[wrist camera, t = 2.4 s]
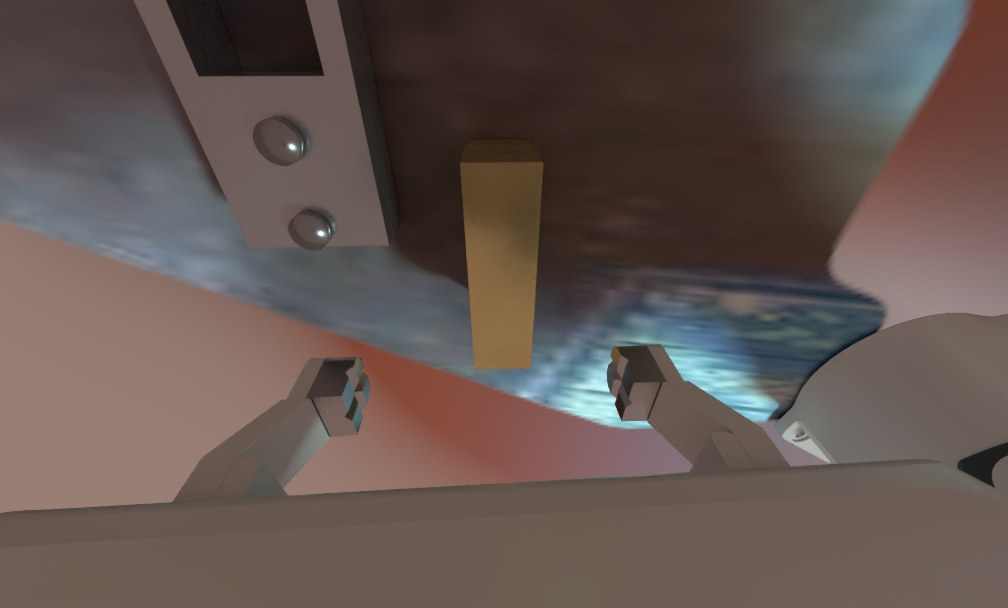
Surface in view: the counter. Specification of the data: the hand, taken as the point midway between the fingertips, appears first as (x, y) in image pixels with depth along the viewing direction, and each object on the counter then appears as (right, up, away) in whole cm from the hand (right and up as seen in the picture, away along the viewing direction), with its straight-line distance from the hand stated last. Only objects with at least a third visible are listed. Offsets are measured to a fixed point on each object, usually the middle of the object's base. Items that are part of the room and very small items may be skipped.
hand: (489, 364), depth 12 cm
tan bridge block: (0, +7, +9) cm, 11 cm away
